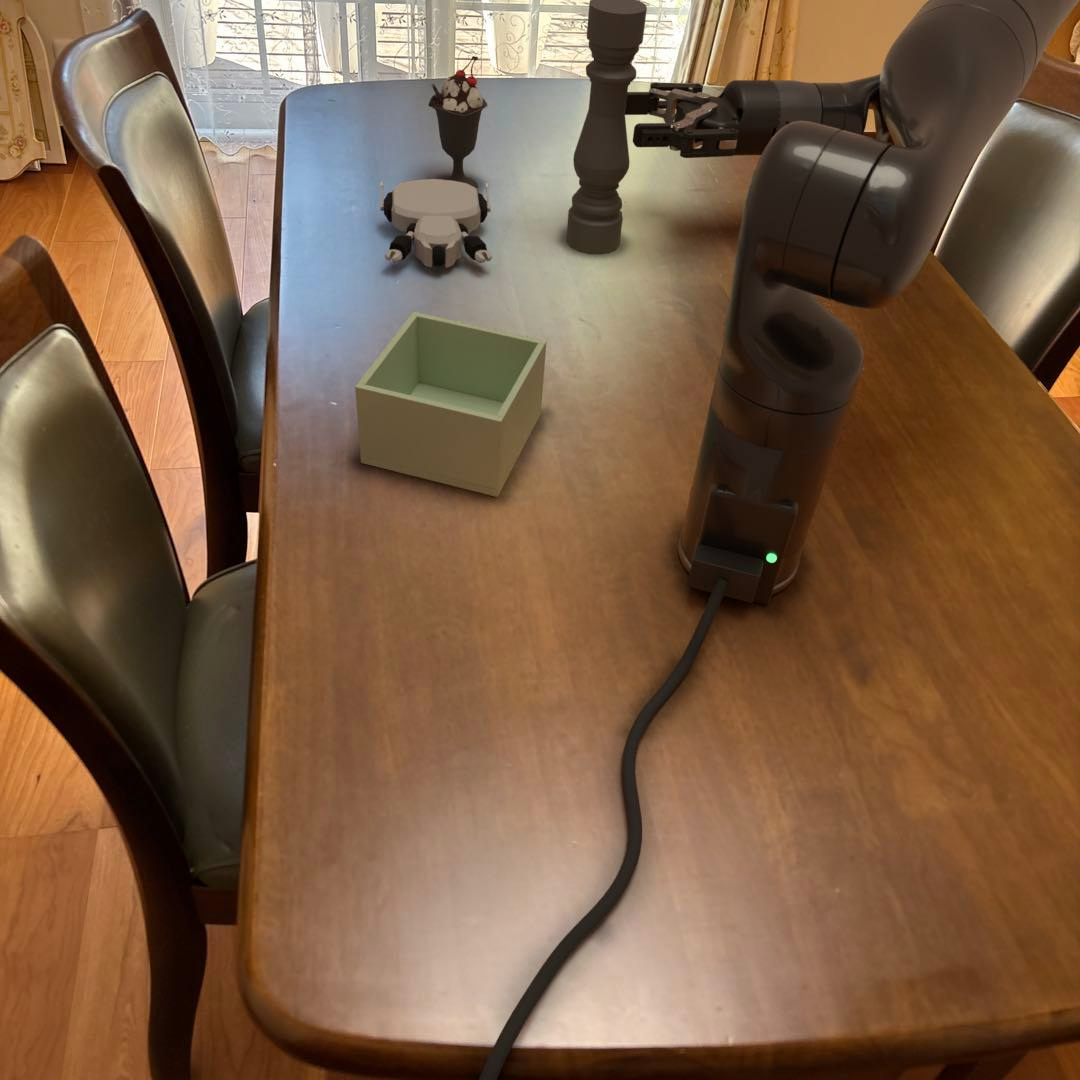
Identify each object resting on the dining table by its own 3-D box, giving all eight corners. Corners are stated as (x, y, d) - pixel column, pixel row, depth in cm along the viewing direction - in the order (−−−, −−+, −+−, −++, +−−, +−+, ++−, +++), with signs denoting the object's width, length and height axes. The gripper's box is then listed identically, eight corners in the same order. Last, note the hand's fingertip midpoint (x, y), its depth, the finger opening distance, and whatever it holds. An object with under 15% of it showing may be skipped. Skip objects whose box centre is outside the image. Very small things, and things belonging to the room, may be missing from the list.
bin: (497, 497, 84) (501, 421, 79) (360, 463, 86) (354, 386, 81) (540, 414, 93) (546, 340, 87) (415, 384, 95) (413, 311, 89)
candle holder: (615, 257, 115) (645, 18, 97) (561, 249, 115) (581, 9, 98) (623, 232, 119) (653, -1, 102) (571, 224, 120) (592, -9, 103)
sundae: (495, 184, 126) (500, 56, 116) (464, 202, 122) (465, 72, 112) (452, 169, 129) (452, 43, 118) (420, 187, 124) (417, 58, 114)
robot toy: (496, 284, 110) (486, 210, 120) (497, 247, 107) (488, 175, 117) (381, 284, 109) (381, 209, 119) (379, 246, 106) (379, 173, 115)
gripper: (754, 58, 113) (612, 58, 110) (800, 108, 103) (646, 109, 100) (740, 126, 118) (605, 127, 116) (783, 180, 108) (636, 182, 105)
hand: (624, 119), depth 108 cm, fingers open, 8 cm apart
